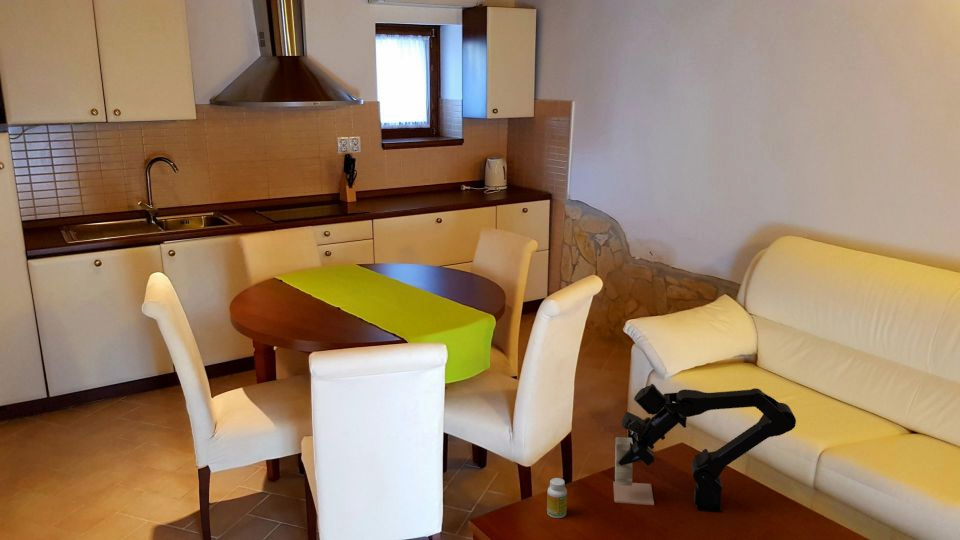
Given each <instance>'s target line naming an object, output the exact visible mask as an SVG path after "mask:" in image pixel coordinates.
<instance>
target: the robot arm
mask: <svg viewBox="0 0 960 540" xmlns="http://www.w3.org/2000/svg"><path fill="white" fill-rule="evenodd" d="M633 400H634V401H635V402H636V403H637V404H638V405H639V406H640V407H641V408H642V410H644V411H645V412H646V413H647V415H651V416H652V417H650V416H648V417H645V418H642V417H640V416H638V415H636V414H633V413H631V412H629V411H626V412H625V414H624V415H623V417H622V419H621V421H620V423H621V426H622V428H623V429H625V430H627V438H632V442H633V444H632V443H631V442H630V449H629V451H628V452H627V453H626V454H625V455H624V456H623V457H622V458H621V460H620V461H619V462H618V463H619V464H620V465H625V464H630V463H634V464H635V463H639V462H644V464H646V466H648V467H649V466H651V465H652V464H654V463H655V456H654V452H653V449H654V448H655V444H656V443H657V442H658V441H659V440H662V441H664V440H665V439H666V436H665V435H666V434H668V433H670V431H671V430H673V429H674V428H675V427H676V426H677V425H678V424H679V425H681V426H682V428H685V429H686V428H687V420H688V419H687V418H690V417H694V416H698V415H699V416H700V415H702V414H704V413H706V412H708V411H713V410H715V411H716V410H727V409H730V410H731V409H742V408H743V409H744V408H753V407H755V408H756V409H757V410H759V411H760V413H762V415H761V417H760V418H759V419H758V421H757V422H756V423H754V424H753V425H752V426H750V427H749V428H747V429H746V430H744V431H743V432H742V433H740V434H738V435H737V436H735V437H734V438H733V439H731V440H730V441H728V442H727V443H725V444H723V446H721V447H719V448H718V449H717V450H715V451H709V450H708V449H707V448H704V449H703V450H702V451H701V452H700V453H697V454H695V455H694V458H693V459H692V460H691V470H692V471H691V472H692V476H693V477H692V478H693V480H694V481H695V483H696V486H695V487H694V489H693V490H694V491H693V492H694V493H693V503H694V505H695V506H696V510H697V511H704V512H705V511H706V512H715V513H716V512H717V513H721V512H722V511H723V510H722V507H721V501H722V490H723V485H722V481H721V477H720V476H721V474H722V472H723V471H724V470H725V468H726V467H727V466H728V465H730V464H731V463H733V462H734V461H735V460H737V459H739V458H740V457H742V456H743V455H744V454H746V453H748V452H749V451H750V450H752V449H754V448H755V447H757V446H758V445H759V444H761V443H763V442H764V441H766V440H767V439H768V438H769V439H770V438H774V437H777V436H782V435H784V434H786V433H788V432H790V431H793V430H794V429H795V427H796V425H797V418H796V417H795V415H794V413H793V411H792V409H791V407H790V406H789V405H788V404H786V403H784V402H779V401H777V400H776V399H774V397H772V396H771V395H768V394H767V393H765V392H763V391H762V390H761V389H760V388H751V389H742V390H741V389H740V390H731V391H730V390H729V391H716V392H714V391H713V392H705V391H704V392H703V391H700V390H695V389H681V390H679V391H677V392H668V393H667V392H666V393H662V392H661V391H660V390H659V389H658V387H656V385H655V384H654V383H651V384H649V385H646V386H645V387H642V388H640V389H639V391H638V392H637V393H636V394H635V395H634V398H633Z"/></svg>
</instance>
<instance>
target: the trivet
mask: <svg viewBox="0 0 960 540" xmlns="http://www.w3.org/2000/svg"><path fill="white" fill-rule="evenodd" d="M612 484H613V500H614V501H613V502H614V503H620V504H632V505H633V504H634V505H642V506H643V505H647V506H655V502H654V496H653V495H654V494H653V489H652V484H651V483H643V482H641V483H640V482H639V483H638V482H632V486H627V485H616V482H615V481H612Z"/></svg>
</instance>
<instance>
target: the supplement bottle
mask: <svg viewBox="0 0 960 540" xmlns="http://www.w3.org/2000/svg"><path fill="white" fill-rule="evenodd" d="M550 479H551V478H550ZM546 496H547V497H546V499H547V500H546V501H547V502H546V503H547V504H546V513H547V515H548V516H549V517H551V518H554V519H561V518H564V517H566V515H567V510H568V509H567V508H568V507H567V506H568V490H567V487H565V480H564V479H562V478H559V477H555V478H552V479H551V480H550V481H549V486H548V488H547V495H546Z"/></svg>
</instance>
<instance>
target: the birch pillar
mask: <svg viewBox="0 0 960 540" xmlns="http://www.w3.org/2000/svg"><path fill="white" fill-rule="evenodd" d="M630 442H631V443H632V444H633V442H632V438H628V437H623V436H622V437H621V436H617V437H615V443H614V444H615V451H614V453H615V455H614V480H615V481H614V482H616V485H627V486H632V483H633V463H630V464H625V465H620V464H619V463H618V462H619V461H620V460H621V458H622V457H623V456H624V455H625V454H626V453H627V452H628V451H629V449H630Z"/></svg>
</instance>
